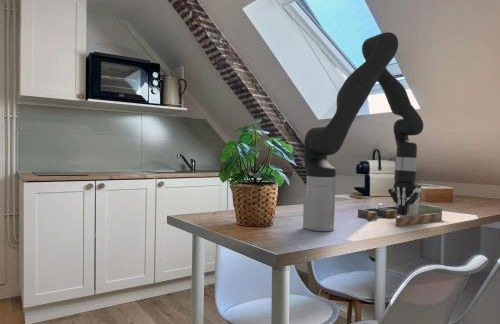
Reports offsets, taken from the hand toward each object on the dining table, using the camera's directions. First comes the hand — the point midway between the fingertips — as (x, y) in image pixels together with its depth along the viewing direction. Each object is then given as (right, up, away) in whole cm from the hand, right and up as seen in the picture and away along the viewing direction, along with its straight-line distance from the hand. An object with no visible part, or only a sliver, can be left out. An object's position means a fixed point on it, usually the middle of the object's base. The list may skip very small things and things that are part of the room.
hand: (402, 215), depth 138 cm
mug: (+12, -2, +22) cm, 25 cm away
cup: (+4, -2, +3) cm, 5 cm away
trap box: (-1, -2, +4) cm, 4 cm away
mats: (-4, -2, +9) cm, 10 cm away
